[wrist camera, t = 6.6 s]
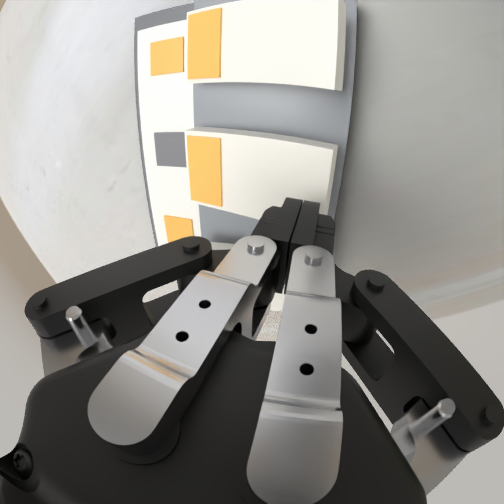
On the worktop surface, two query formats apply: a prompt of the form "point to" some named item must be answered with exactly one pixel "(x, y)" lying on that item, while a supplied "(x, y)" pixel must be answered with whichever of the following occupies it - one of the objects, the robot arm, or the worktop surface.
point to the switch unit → (219, 121)
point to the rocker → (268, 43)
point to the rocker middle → (256, 170)
